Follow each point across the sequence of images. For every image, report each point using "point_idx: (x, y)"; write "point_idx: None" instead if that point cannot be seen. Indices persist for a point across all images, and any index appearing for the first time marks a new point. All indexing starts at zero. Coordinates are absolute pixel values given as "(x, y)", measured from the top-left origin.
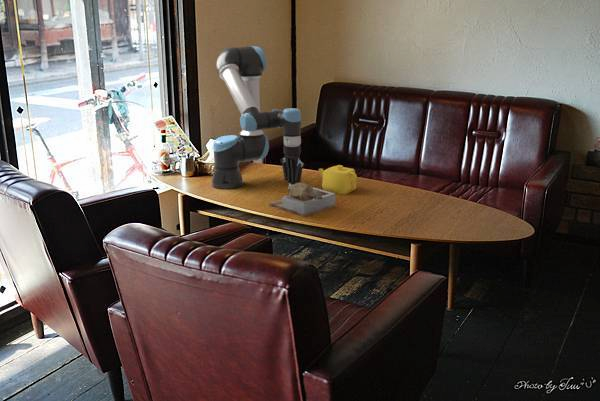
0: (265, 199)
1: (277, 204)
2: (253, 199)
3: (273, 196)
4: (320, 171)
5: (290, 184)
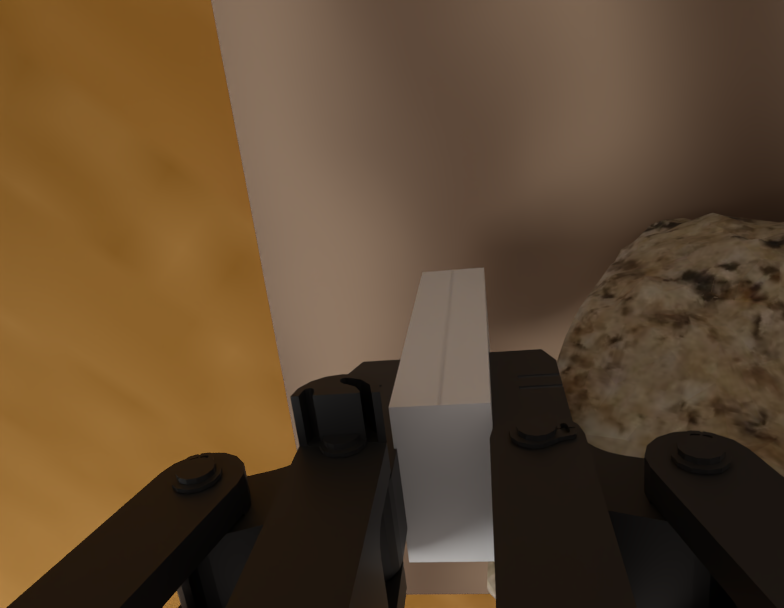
0: (94, 458)
1: (465, 567)
2: (24, 554)
3: (22, 301)
4: None
5: (468, 546)
